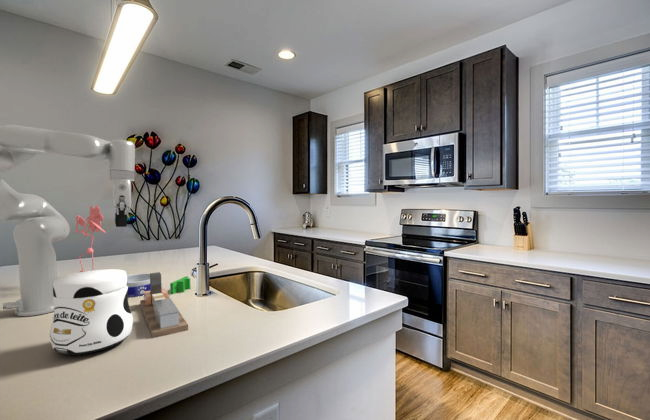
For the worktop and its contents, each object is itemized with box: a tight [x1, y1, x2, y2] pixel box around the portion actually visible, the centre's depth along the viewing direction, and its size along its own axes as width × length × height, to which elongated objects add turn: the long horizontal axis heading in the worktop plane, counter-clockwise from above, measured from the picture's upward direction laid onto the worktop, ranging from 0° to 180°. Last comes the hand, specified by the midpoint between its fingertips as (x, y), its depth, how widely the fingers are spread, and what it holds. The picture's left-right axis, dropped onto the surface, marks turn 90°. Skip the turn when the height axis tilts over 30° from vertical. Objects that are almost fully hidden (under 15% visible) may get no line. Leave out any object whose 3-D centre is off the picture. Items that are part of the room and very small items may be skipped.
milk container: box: [49, 268, 134, 356], centre depth 84 cm, size 17×17×18 cm
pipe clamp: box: [169, 275, 191, 295], centre depth 133 cm, size 11×4×5 cm, turn 173°
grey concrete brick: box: [153, 297, 180, 329], centre depth 97 cm, size 15×5×4 cm, turn 34°
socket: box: [143, 287, 169, 305], centre depth 115 cm, size 7×7×3 cm
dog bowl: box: [127, 272, 151, 299], centre depth 131 cm, size 15×15×6 cm
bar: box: [149, 271, 165, 304], centre depth 108 cm, size 20×3×10 cm, turn 34°
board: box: [139, 295, 189, 339], centre depth 104 cm, size 34×9×2 cm, turn 34°
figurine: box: [75, 204, 107, 272], centre depth 146 cm, size 15×26×35 cm, turn 58°
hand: (120, 225), depth 114 cm, fingers open, 9 cm apart
